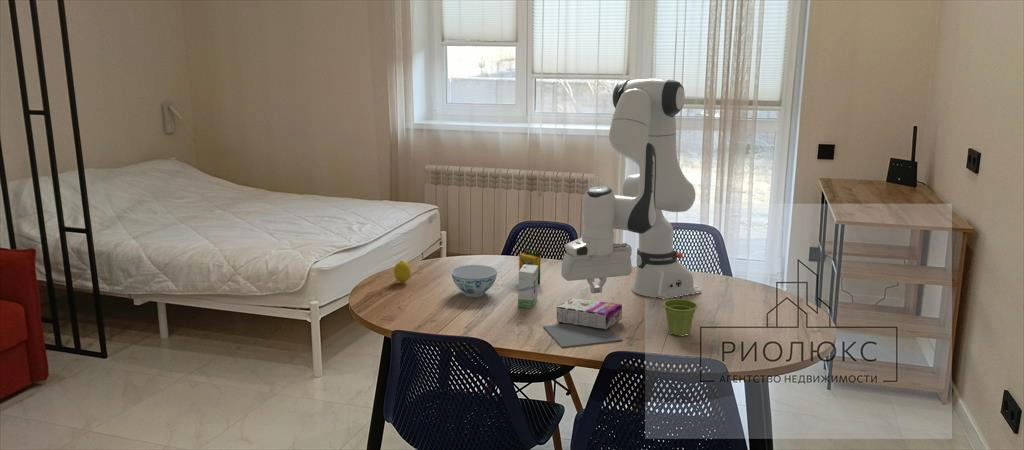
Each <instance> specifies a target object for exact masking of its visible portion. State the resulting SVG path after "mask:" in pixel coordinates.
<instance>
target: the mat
mask: <svg viewBox="0 0 1024 450" xmlns="http://www.w3.org/2000/svg"><path fill="white" fill-rule="evenodd" d="M542 327H543V329H544V330H545V331H546V332H547V333H548V334H549V335H550V336H551V338H552V339H553V340H554V341H555V342H556V344H558V345H559V346H560V348H562V349H565V348H575V347H582V346H590V345H598V344H608V343H615V342H623V341H624V338H622V337H621V336H619V334H618V333H617V332H615V331H614V330H613V329H612V328H611V327H609V328H607V329H600V328H594V327H588V326H582V325H575V324H569V323H560V324H558V323H557V324H552V325H551V324H550V325H543V326H542Z"/></svg>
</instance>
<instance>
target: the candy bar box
mask: <svg viewBox="0 0 1024 450" xmlns="http://www.w3.org/2000/svg"><path fill="white" fill-rule="evenodd" d="M622 319H623V304H621V303H614V302H606V301H599V300H592V299H587V298H586V299H584V298H577V297H572V298H570V299H568V300H567V301H565V302H563V303H561V304H559V305H557V306H556V322H557V323H562V324H567V323H569V324H575V325H582V326H588V327H594V328H600V329H607V328H611V327H613V326H614V325H615V324H616V323H618V322H619V321H621V320H622Z"/></svg>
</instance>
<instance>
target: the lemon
mask: <svg viewBox="0 0 1024 450" xmlns="http://www.w3.org/2000/svg"><path fill="white" fill-rule="evenodd" d="M393 275H394V278H395V279H396V280H397V281H398V282H400V283H401V284H404V283H405V282H406V281H408V280H409V279H410V277H411V268H410V264H408V263H407V262H406V261H404V260H400V261H398V262H397V263H396V264H395V266H394V271H393Z"/></svg>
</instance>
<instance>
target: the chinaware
mask: <svg viewBox="0 0 1024 450" xmlns="http://www.w3.org/2000/svg"><path fill="white" fill-rule="evenodd" d="M450 272H451V277H452V280H453V282H454V284H455V286H456V287H457V288H458V289H459V290H460V291H461V292H462V293H464V295H465V296H466V297H469V298H479V297H482V296H484V295H485V294H486V293H485V292H487V291H488V290H489V289H491V287H492V286H493V285H494V284H495V282H496V278H497V275H498V270H497V269H496V268H495V267H492V266H489V265H483V264H467V265H461V266H457V267H455V268H453V269H452V270H451V271H450Z"/></svg>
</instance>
